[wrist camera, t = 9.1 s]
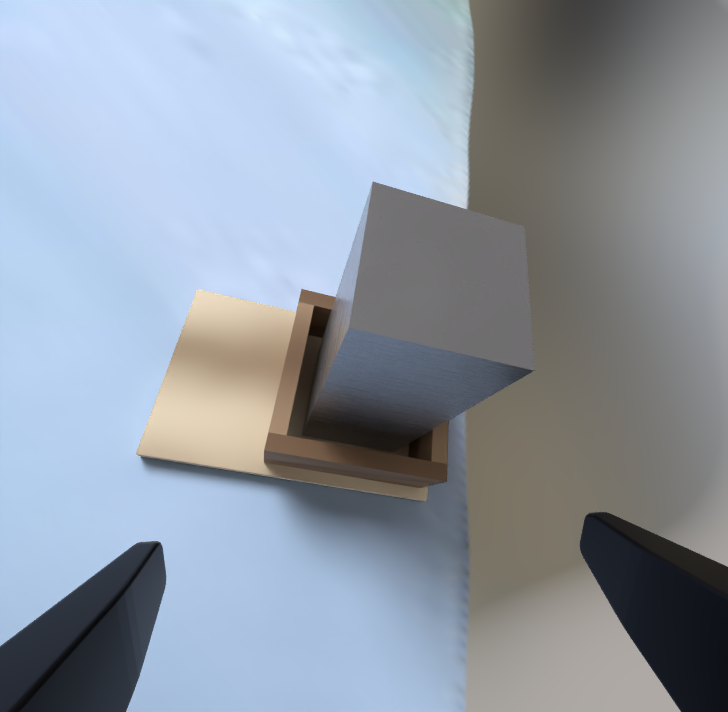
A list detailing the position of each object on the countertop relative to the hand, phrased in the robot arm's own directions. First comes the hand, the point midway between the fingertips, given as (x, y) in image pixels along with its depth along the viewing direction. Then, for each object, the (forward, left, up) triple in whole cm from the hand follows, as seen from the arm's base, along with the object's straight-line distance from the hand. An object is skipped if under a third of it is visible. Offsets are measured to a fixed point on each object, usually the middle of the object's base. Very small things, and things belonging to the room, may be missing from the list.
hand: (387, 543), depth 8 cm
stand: (+6, +2, -10) cm, 12 cm away
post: (+6, -1, -10) cm, 12 cm away
